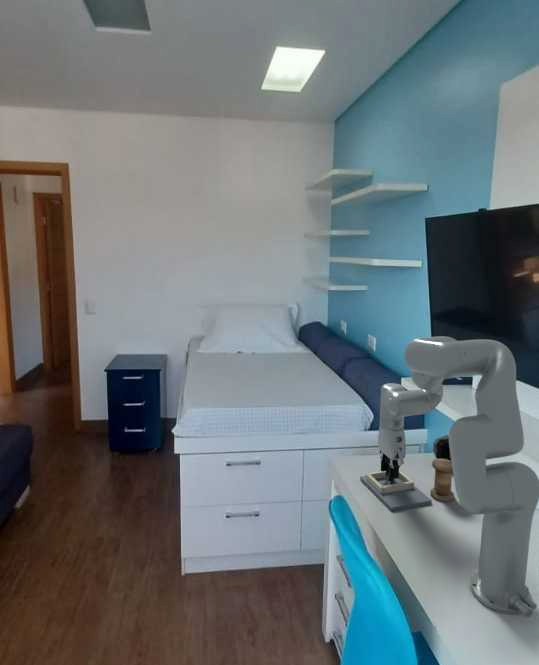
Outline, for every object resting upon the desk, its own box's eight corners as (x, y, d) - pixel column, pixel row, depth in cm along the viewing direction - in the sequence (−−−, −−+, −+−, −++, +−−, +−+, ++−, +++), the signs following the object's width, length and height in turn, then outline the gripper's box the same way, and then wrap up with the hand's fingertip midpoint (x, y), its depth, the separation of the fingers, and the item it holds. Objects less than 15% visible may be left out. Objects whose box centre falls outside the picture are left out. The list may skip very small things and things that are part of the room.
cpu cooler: (457, 459, 173) (459, 433, 171) (466, 466, 168) (468, 440, 166) (431, 461, 172) (432, 435, 170) (438, 468, 166) (440, 442, 165)
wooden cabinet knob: (458, 499, 146) (460, 467, 144) (439, 503, 144) (441, 470, 142) (444, 488, 153) (446, 457, 151) (425, 492, 151) (427, 460, 149)
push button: (396, 489, 150) (400, 461, 148) (379, 485, 152) (383, 457, 150) (398, 479, 156) (402, 452, 154) (382, 475, 158) (386, 449, 156)
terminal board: (431, 503, 144) (432, 494, 143) (391, 511, 140) (391, 501, 139) (396, 474, 163) (396, 465, 162) (360, 479, 159) (360, 471, 158)
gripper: (417, 430, 143) (414, 485, 147) (388, 411, 159) (386, 461, 163) (395, 433, 141) (393, 488, 145) (368, 414, 157) (366, 464, 161)
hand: (389, 473), depth 154 cm, fingers closed on push button, 4 cm apart
